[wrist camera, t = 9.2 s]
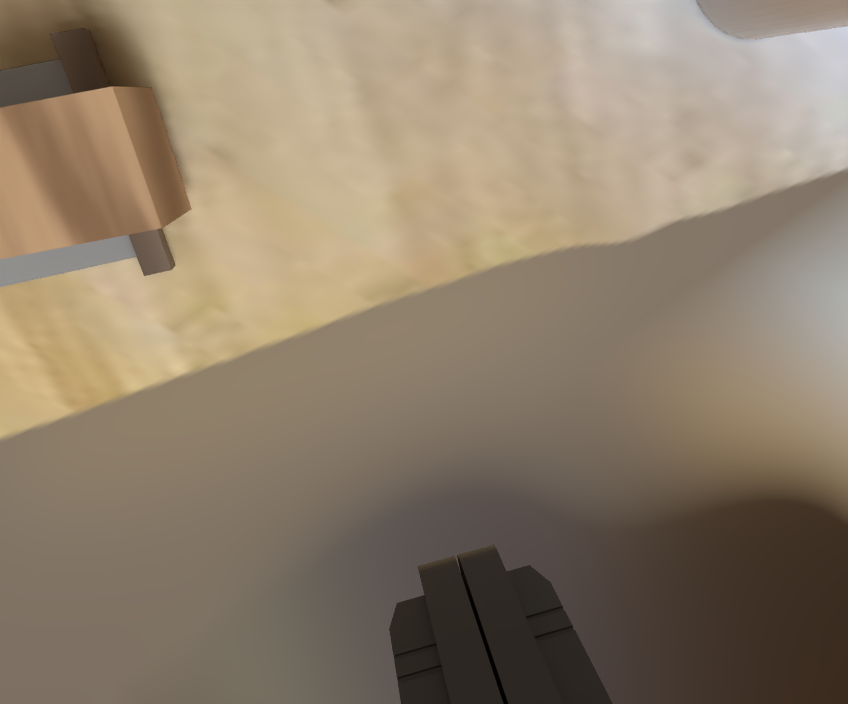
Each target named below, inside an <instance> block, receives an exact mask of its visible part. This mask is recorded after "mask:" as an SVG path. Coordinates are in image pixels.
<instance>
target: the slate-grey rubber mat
mask: <svg viewBox="0 0 848 704" xmlns="http://www.w3.org/2000/svg"><path fill="white" fill-rule="evenodd" d="M70 94H73V91H72V89H71V86H70V84H69V81H68V79H67V76H66V73H65V71H64V68H63V66H62V63H61V61H60V59H58V60H53V61H47V62H42V63H37V64H32V65H26V66H21V67H16V68H11V69H5V70H0V108H1V107H6V106H12V105H17V104H22V103H27V102H33V101H38V100H43V99H48V98H54V97H59V96H64V95H70ZM133 257H137V256H136V253H135V251H134V248H133V246H132V243H131V240H130V238H129V235H124V236H119V237H114V238H109V239H103V240H98V241H93V242H88V243H83V244H77V245H72V246H67V247H62V248H57V249H52V250H46V251H41V252H36V253H31V254H26V255H20V256H15V257H10V258H5V259H0V287H3V286H7V285H12V284H16V283H21V282H25V281H30V280H34V279H39V278H43V277H48V276H52V275H57V274H61V273H66V272H70V271H75V270H79V269H84V268H88V267H93V266H97V265H102V264H106V263H111V262H115V261H120V260H124V259H129V258H133Z"/></svg>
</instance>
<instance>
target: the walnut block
mask: <svg viewBox="0 0 848 704" xmlns="http://www.w3.org/2000/svg"><path fill="white" fill-rule="evenodd" d="M189 210H191V206H190V203H189V200H188V197H187V194H186V191H185V188H184V185H183V182H182V179H181V176H180V173H179V170H178V166H177V163H176V160H175V157H174V154H173V151H172V148H171V145H170V142H169V139H168V136H167V133H166V130H165V127H164V124H163V121H162V118H161V115H160V112H159V108H158V105H157V102H156V99H155V96H154V93H153V90H152V87H116V86H112V87H106V88H101V89H96V90H91V91H85V92H80V93H75V94H70V95H64V96H59V97H54V98H48V99H43V100H38V101H33V102H27V103H22V104H17V105H12V106H6V107H1V108H0V259H5V258H10V257H15V256H20V255H26V254H31V253H36V252H41V251H46V250H52V249H57V248H62V247H67V246H72V245H77V244H83V243H88V242H93V241H98V240H103V239H109V238H114V237H119V236H124V235H129V234H135V233H140V232H145V231H150V230H155V229H161V228H163V227H165V226H166V225H168V224H169V223H171V222H172V221H174V220H175V219H177V218H178V217H180V216H181V215H183V214H185V213H186V212H188V211H189Z"/></svg>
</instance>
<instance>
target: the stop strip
mask: <svg viewBox="0 0 848 704" xmlns="http://www.w3.org/2000/svg"><path fill="white" fill-rule="evenodd" d="M50 35H51V37H52V40H53V43H54V45H55V48H56V50H57V53H58V55H59V58H60V61H61V63H62V66H63V68H64V71H65V73H66V76H67V79H68V81H69V84H70V86H71V89H72V91H73V94H75V93H80V92H85V91H91V90H96V89H101V88H106V87H110V85H109V82H108V80H107V77H106V74H105V71H104V69H103V66H102V63H101V61H100V58H99V55H98V52H97V50H96V47H95V44H94V41H93V39H92V36H91V33H90V31H89V30H86V29H84V28H81V29H76V30H70V31H65V32H60V33H54V34H50ZM129 238H130V240H131V243H132V246H133V248H134V251H135V253H136V256H137V258H138V261H139V264H140V266H141V269H142V271H143V274H144V276H146V275H151V274H155V273H159V272H164V271H168V270H172V269H173V268H174V266H175V263H174V261H173V258H172V255H171V252H170V250H169V247H168V244H167V241H166V239H165V236H164V233H163V230H162V228H161V229H155V230H150V231H145V232H140V233H135V234H129Z"/></svg>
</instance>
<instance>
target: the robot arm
mask: <svg viewBox="0 0 848 704" xmlns="http://www.w3.org/2000/svg"><path fill="white" fill-rule="evenodd" d="M697 2H698V4H699V6H700V8H701V9H702V11H703V13H704V15H705V16H706V17H707V18H708V19H709V20H710V22H711V23H712V24H713V25H714V26H715V27H717V28H718V29H720V30H721V31H723V32H724V33H726V34H728V35H731V36H734V37H737V38H740V39H762V38H768V37H775V36H782V35H789V34H795V33H802V32H811V31H818V30H825V29H831V28H838V27H845V26H848V0H697ZM457 557H458V563H459V567H458V564H457V562H456V559H455V557H454V556H452V557H449V558H446V559H442V560H438V561H435V562H431V563H427V564H424V565H420V566H418V570H419V574H420V578H421V582H422V586H423V590H424V594H425V595H424V596H420V597H417V598H413V599H410V600H406V601H403V602H399V603H397V605H396V608H395V612H394V615H393V619H392V622H391V625H390V629H389V630H390V636H391V642H392V649H393V655H394V659H395V667H396V673H397V679H398V686H399V693H400V699H401V704H612V702H611V700H610V698H609V696H608V694H607V692H606V690H605V688H604V686H603V684H602V682H601V680H600V678H599V676H598V674H597V672H596V670H595V668H594V667H593V665H592V663H591V661H590V659H589V657H588V655H587V653H586V651H585V649H584V647H583V645H582V643H581V641H580V639H579V637H578V635H577V633H576V631H574V629H573V626H572V623H571V622H570V620H569V618H568V616H567V614H566V612H565V611H564V610H563V606H562V604H561V602H560V600H559V599H558V596H557V594H556V592H555V590H554V588H553V586H552V585H551V582H549V581H548V580H547V579H545V578H544V577H543V576H542V575H541V574H540V573H538V572H537V571H536V570H535V569H533V568H532V567H531V566H530V565H529V566H525V567H522V568H518V569H514V570H511V571H507V572H506V570H505V567H504V565H503V563H502V560H501V558H500V556H499V554H498V551H497V549H496V547H495V546H494V545H491V546H487V547H484V548H480V549H477V550H473V551H470V552H466V553H462V554H459V555H457ZM459 568H460V570H459Z"/></svg>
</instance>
